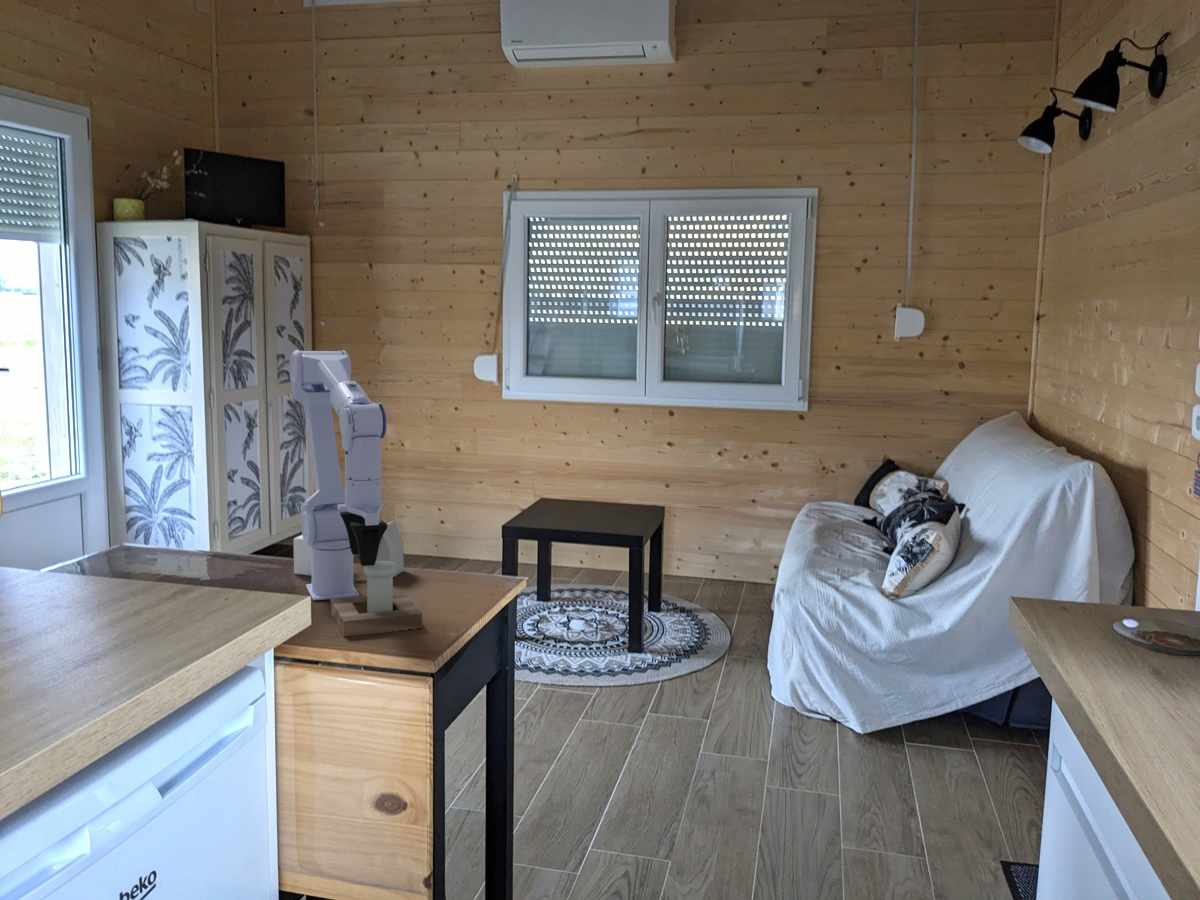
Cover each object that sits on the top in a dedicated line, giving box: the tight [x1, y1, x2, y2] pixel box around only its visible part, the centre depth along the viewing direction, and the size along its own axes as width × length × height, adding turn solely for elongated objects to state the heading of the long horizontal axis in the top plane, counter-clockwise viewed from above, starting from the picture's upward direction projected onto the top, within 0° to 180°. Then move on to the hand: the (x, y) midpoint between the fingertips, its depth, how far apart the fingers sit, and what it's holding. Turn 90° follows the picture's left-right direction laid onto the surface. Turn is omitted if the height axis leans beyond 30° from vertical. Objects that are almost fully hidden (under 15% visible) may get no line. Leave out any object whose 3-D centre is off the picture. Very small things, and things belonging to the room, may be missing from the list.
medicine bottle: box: [293, 534, 312, 577], centre depth 192 cm, size 7×7×12 cm
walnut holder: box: [330, 592, 423, 637], centre depth 164 cm, size 12×12×2 cm
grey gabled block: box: [376, 520, 404, 578], centre depth 192 cm, size 4×7×10 cm, turn 168°
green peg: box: [363, 561, 397, 613], centre depth 164 cm, size 5×5×10 cm
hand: (363, 559), depth 163 cm, fingers open, 7 cm apart
